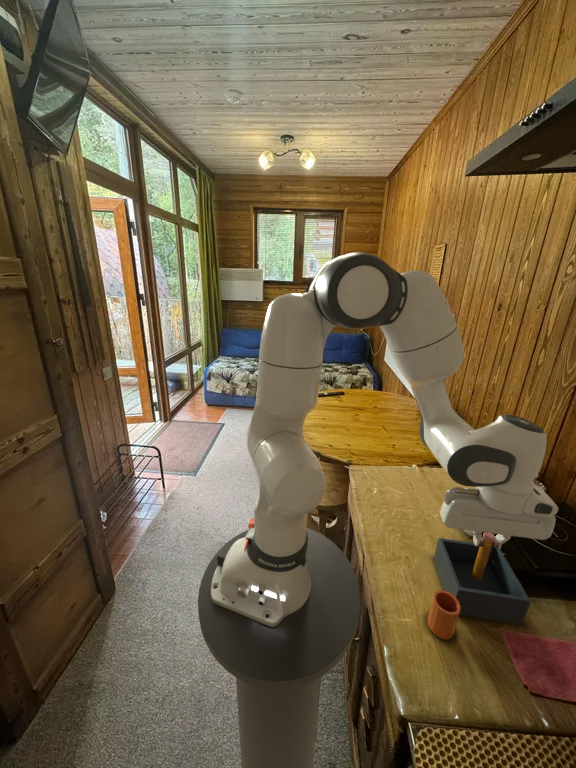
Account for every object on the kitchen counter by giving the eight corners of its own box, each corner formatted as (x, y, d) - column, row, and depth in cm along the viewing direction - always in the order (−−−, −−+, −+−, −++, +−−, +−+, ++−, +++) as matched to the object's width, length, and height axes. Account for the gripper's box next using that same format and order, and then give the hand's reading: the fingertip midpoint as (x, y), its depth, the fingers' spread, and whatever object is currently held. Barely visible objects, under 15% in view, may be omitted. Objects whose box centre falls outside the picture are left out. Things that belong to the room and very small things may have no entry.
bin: (451, 613, 65) (458, 590, 63) (433, 558, 78) (438, 537, 76) (521, 624, 63) (531, 601, 61) (491, 567, 76) (498, 545, 74)
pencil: (473, 579, 69) (486, 537, 65) (470, 571, 70) (482, 530, 66) (483, 580, 68) (496, 539, 64) (479, 572, 70) (492, 531, 66)
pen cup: (431, 637, 61) (437, 612, 58) (424, 612, 65) (430, 588, 63) (457, 641, 60) (464, 617, 58) (448, 616, 65) (455, 592, 62)
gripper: (452, 496, 60) (439, 550, 65) (568, 509, 57) (546, 565, 62) (442, 477, 66) (431, 527, 71) (547, 488, 63) (529, 540, 68)
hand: (486, 545), depth 66 cm, fingers closed on pencil, 2 cm apart
